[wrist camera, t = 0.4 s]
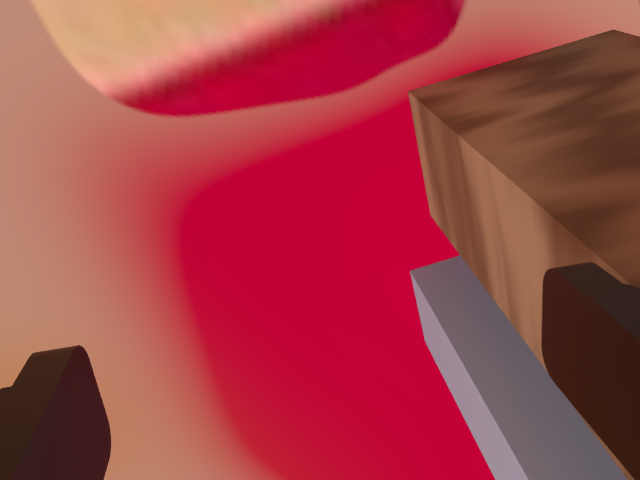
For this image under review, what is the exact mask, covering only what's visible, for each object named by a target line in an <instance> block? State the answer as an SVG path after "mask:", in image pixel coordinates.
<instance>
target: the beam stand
mask: <svg viewBox="0 0 640 480" xmlns="http://www.w3.org/2000/svg"><path fill="white" fill-rule="evenodd" d="M408 94H409V99H410V105H411V110H412V116H413V121H414V127H415V132H416V138H417V143H418V148H419V154H420V160H421V165H422V171H423V176H424V181H425V187H426V192H427V198H428V203H429V208H430V214H431V216H432V218H433V219H434V220H435V222H436V223H437V224H438V226H439V227H440V229H441V230H442V231H443V233H444V234H445V235H446V236H447V238H448V239H449V240H450V242H451V243H452V245H453V246H454V247H455V249H456V250H457V251H458V253H459V254H460V255H461V257H462V258H463V259H464V261H465V262H466V263H467V265H468V266H469V267H470V269H471V270H472V271H473V273H474V274H475V275H476V277H477V278H478V280H479V281H480V282H481V284H482V285H483V286H484V288H485V289H486V290H487V292H488V293H489V294H490V296H491V297H492V298H493V300H494V301H495V302H496V304H497V305H498V306H499V308H500V309H501V310H502V312H503V313H504V314H505V316H506V317H507V318H508V320H509V321H510V322H511V324H512V325H513V326H514V328H515V329H516V331H517V332H518V333H519V335H520V336H521V337H522V339H523V340H524V341H525V343H526V344H527V345H528V347H529V348H530V349H531V351H532V352H533V353H534V355H535V356H536V357H537V359H538V360H539V361H540V363H541V364H542V365H543V367H544V368H545V369H546V367H545V364H544V360H543V356H542V348H541V338H542V292H543V278H544V274H545V272H546V271H547V270H548V269H550V268H556V267H562V266H568V265H574V264H580V263H586V262H593V263H595V264H597V265H598V266H600V267H601V268H602V269H604V270H605V271H606V272H608V273H609V274H611V275H612V276H613V277H615V278H616V279H617V280H619V281H620V282H622V283H623V284H629V285H632V286H635V287H637V288H640V37H638V36H635V35H631V34H627V33H624V32H620V31H616V30H611V31H608V32H604V33H601V34H597V35H595V36H591V37H587V38H584V39H581V40H578V41H574V42H571V43H568V44H564V45H561V46H558V47H554V48H551V49H548V50H544V51H541V52H538V53H534V54H531V55H528V56H525V57H521V58H518V59H515V60H511V61H508V62H504V63H501V64H498V65H494V66H491V67H488V68H484V69H481V70H478V71H475V72H471V73H468V74H465V75H461V76H458V77H455V78H451V79H448V80H445V81H441V82H438V83H435V84H431V85H428V86H425V87H421V88H418V89H415V90H412V91H409V92H408ZM546 371H547V369H546ZM569 402H570V401H569ZM570 403H571V402H570ZM572 406H573V405H572ZM573 407H574V406H573ZM574 408H575V407H574ZM575 410H576V408H575ZM576 411H577V410H576ZM577 412H578V411H577ZM578 414H579V415H580V416H581V414H580V413H579V412H578ZM581 418H582V419H583V420H584V422H585V423H586V424H587V426H588V427H589V428H590V430H591V431H592V433H593V434H594V435H595V437H596V438H597V439H598V441H599V442H600V443H601V445H602V446H603V447H604V449H605V450H606V451H607V453H608V454H609V455H610V457H611V458H612V459H613V461H614V462H615V463H616V465H617V466H618V467H619V469H620V470H621V471H622V473H623V474H624V475H625V477H626V478H627V479H628V480H634V478H633V477H632V476H631V475H630V474H629V472H628V471H627V470H626V469H625V467H624V466H623V465H622V464H621V463H620V461H619V460H618V459H617V458H616V457H615V455H614V454H613V453H612V452H611V451H610V449H609V448H608V447H607V446H606V445H605V443H604V442H603V441H602V440H601V439H600V437H599V436H598V435H597V434H596V433H595V431H594V430H593V429H592V428H591V427H590V425H589V424H588V423H587V422H586V420H585V419H584V418H583V417H582V416H581Z"/></svg>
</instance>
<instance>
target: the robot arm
mask: <svg viewBox="0 0 640 480" xmlns="http://www.w3.org/2000/svg"><path fill="white" fill-rule="evenodd" d="M541 348H542V356H543V360H544V364H545V367H546V369H547V372H548V374H549V376H550V377H551V379H552V381H553V382H554V383H555V384H556V386H557V387H558V388H559V389H560V390H561V392H562V393H563V394H564V395H565V396H566V398H567V399H568V400H569V401H570V402H571V404H572V405H573V406H574V407H575V408H576V410H577V411H578V412H579V413H580V414H581V416H582V417H583V418H584V419H585V420H586V422H587V423H588V424H589V425H590V427H591V428H592V429H593V430H594V431H595V433H596V434H597V435H598V436H599V437H600V439H601V440H602V441H603V442H604V443H605V445H606V446H607V447H608V448H609V449H610V451H611V452H612V453H613V454H614V455H615V457H616V458H617V459H618V460H619V461H620V463H621V464H622V465H623V466H624V467H625V469H626V470H627V471H628V472H629V474H630V475H631V476H632V477H633V478H634V480H640V288H637V287H635V286H632V285H629V284H623V283H622V282H620V281H619V280H617V279H616V278H615V277H613V276H612V275H611V274H609V273H608V272H606V271H605V270H604V269H602V268H601V267H600V266H598V265H597V264H595V263H593V262H586V263H580V264H574V265H568V266H562V267H556V268H550V269H548V270H547V271H546V272H545V274H544V278H543V292H542V338H541ZM110 451H111V434H110V427H109V422H108V418H107V415H106V411H105V408H104V405H103V402H102V398H101V395H100V392H99V389H98V386H97V382H96V379H95V376H94V373H93V369H92V366H91V363H90V360H89V357H88V354H87V352H86V351H85V349H84V348H83V347H82V346H80V345H78V346H72V347H66V348H60V349H54V350H48V351H42V352H36V353H33V354H32V355H31V356H30V357H29V359H28V360H27V362H26V364H25V365H24V367H23V369H22V370H21V372H20V374H19V375H18V377H17V379H16V380H15V382H14V384H13V385H12V387H6V388H2V389H0V480H103V479H104V476H105V472H106V469H107V465H108V462H109V457H110Z"/></svg>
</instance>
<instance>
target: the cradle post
mask: <svg viewBox="0 0 640 480" xmlns="http://www.w3.org/2000/svg"><path fill="white" fill-rule="evenodd" d="M410 273H411V277H412V282H413V287H414V291H415V296H416V301H417V306H418V310H419V315H420V320H421V324H422V329H423V333H424V338H425V342H426V344H427V346H428V348H429V350H430V352H431V354H432V356H433V358H434V360H435V362H436V364H437V366H438V367H439V370H440V371H441V373H442V375H443V377H444V379H445V381H446V383H447V385H448V387H449V389H450V391H451V393H452V395H453V397H454V399H455V401H456V403H457V405H458V407H459V409H460V411H461V413H462V415H463V417H464V419H465V421H466V423H467V425H468V427H469V429H470V430H471V432H472V434H473V436H474V438H475V440H476V442H477V444H478V446H479V448H480V450H481V452H482V454H483V456H484V458H485V460H486V462H487V464H488V466H489V468H490V470H491V472H492V474H493V476H494V478H495V480H628V479H627V478H626V477H625V475H624V474H623V473H622V471H621V470H620V469H619V467H618V466H617V465H616V463H615V462H614V461H613V459H612V458H611V457H610V455H609V454H608V453H607V451H606V450H605V449H604V447H603V446H602V445H601V443H600V442H599V441H598V439H597V438H596V437H595V435H594V434H593V433H592V431H591V430H590V428H589V427H588V426H587V424H586V423H585V422H584V420H583V419H582V418H581V416H580V415H579V414H578V412H577V411H576V410H575V408H574V407H573V406H572V404H571V403H570V402H569V400H568V399H567V398H566V396H565V395H564V394H563V393H562V392H561V390H560V389H559V388H558V387H557V386H556V384H555V383H554V382H553V381H552V379H551V377H550V376H549V374H548V372H547V371H546V369H545V368H544V367H543V365H542V364H541V363H540V361H539V360H538V359H537V357H536V356H535V355H534V353H533V352H532V351H531V349H530V348H529V347H528V345H527V344H526V343H525V341H524V340H523V339H522V337H521V336H520V335H519V333H518V332H517V331H516V329H515V328H514V326H513V325H512V324H511V322H510V321H509V320H508V318H507V317H506V316H505V314H504V313H503V312H502V310H501V309H500V308H499V306H498V305H497V304H496V302H495V301H494V300H493V298H492V297H491V296H490V294H489V293H488V292H487V290H486V289H485V288H484V286H483V285H482V284H481V282H480V281H479V280H478V278H477V277H476V275H475V274H474V273H473V271H472V270H471V269H470V267H469V266H468V265H467V263H466V262H465V261H464V259H463V258H462V257H461V255H460V256H457V257H454V258H451V259H447V260H445V261H441V262H438V263H434V264H431V265H428V266H425V267H421V268H418V269H415V270H412V271H410Z"/></svg>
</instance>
